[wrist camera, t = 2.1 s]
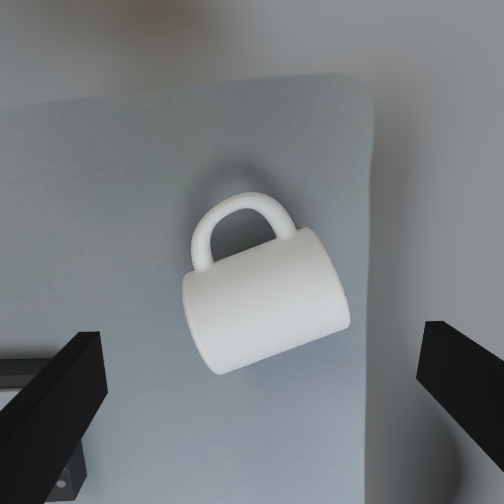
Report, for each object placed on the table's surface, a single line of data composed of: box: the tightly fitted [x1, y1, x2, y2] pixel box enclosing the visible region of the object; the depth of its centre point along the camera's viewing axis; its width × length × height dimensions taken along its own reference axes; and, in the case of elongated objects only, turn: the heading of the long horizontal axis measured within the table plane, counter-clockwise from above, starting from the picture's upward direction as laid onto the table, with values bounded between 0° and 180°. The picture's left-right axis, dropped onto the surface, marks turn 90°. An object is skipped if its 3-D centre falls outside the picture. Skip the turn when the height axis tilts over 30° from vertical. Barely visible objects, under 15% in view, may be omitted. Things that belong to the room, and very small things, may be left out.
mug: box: [182, 192, 350, 375], centre depth 21 cm, size 12×10×8 cm
